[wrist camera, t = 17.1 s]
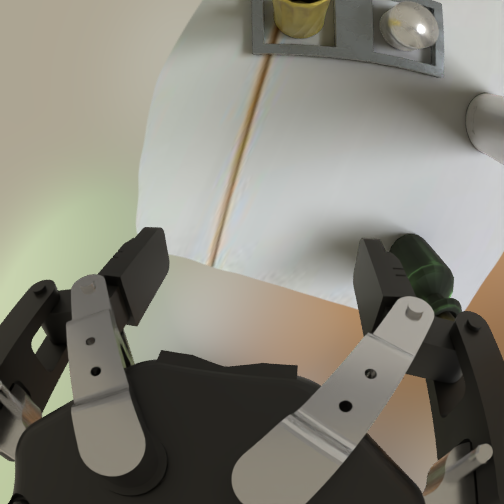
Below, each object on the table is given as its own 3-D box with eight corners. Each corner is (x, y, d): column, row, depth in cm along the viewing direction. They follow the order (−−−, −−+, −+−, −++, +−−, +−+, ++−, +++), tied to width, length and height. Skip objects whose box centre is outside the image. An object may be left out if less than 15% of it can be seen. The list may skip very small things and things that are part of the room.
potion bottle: (439, 249, 41) (487, 329, 25) (403, 281, 45) (436, 368, 29) (411, 217, 39) (463, 297, 24) (373, 254, 43) (403, 344, 28)
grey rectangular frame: (436, 5, 22) (453, -2, 18) (438, 77, 28) (456, 78, 23) (252, -20, 25) (247, -33, 20) (254, 54, 30) (248, 50, 26)
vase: (263, 22, 28) (247, -12, 16) (291, -12, 25) (289, -59, 13) (306, 47, 29) (314, 25, 17) (333, 14, 26) (356, -23, 14)
